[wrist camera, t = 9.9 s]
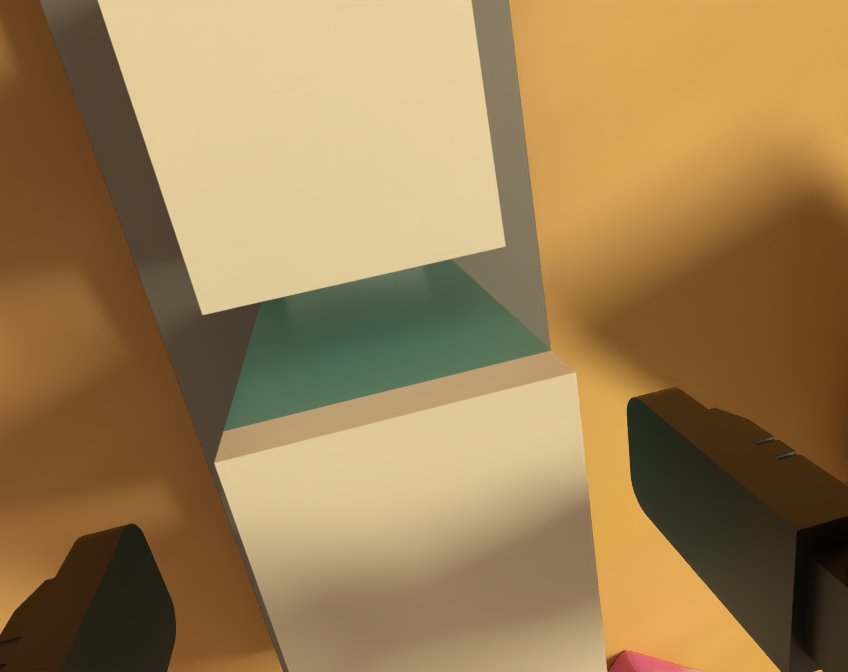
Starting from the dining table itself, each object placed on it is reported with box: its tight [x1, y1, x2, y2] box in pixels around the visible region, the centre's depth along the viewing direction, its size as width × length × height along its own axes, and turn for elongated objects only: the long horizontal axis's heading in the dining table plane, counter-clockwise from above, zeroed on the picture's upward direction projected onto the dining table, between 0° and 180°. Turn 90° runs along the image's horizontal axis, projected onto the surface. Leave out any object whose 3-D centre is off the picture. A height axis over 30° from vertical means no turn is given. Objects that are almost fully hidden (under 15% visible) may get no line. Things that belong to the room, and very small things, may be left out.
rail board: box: [40, 0, 551, 672], centre depth 14 cm, size 22×10×7 cm, turn 11°
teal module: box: [214, 259, 607, 672], centre depth 12 cm, size 6×4×8 cm
